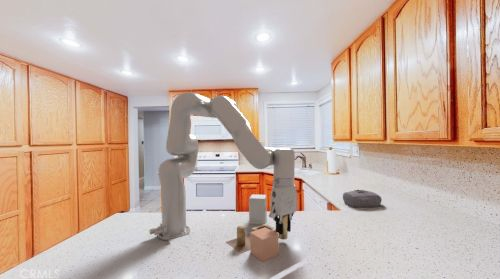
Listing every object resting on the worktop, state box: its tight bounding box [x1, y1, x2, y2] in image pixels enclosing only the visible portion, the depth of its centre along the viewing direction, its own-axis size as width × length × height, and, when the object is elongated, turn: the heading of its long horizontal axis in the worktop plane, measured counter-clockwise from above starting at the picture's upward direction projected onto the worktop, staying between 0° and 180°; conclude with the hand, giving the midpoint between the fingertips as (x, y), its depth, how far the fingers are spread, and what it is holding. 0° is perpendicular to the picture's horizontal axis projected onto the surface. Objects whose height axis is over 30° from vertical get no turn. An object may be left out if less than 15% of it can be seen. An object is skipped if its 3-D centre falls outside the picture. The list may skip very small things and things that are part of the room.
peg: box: [278, 215, 289, 240], centre depth 78 cm, size 3×3×9 cm
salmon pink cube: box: [249, 227, 279, 262], centre depth 70 cm, size 7×7×8 cm
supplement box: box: [248, 194, 268, 225], centre depth 98 cm, size 7×7×13 cm
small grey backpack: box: [342, 189, 383, 209], centre depth 123 cm, size 15×8×20 cm
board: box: [225, 223, 280, 254], centre depth 80 cm, size 18×10×7 cm, turn 127°
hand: (283, 231), depth 78 cm, fingers closed on peg, 3 cm apart
